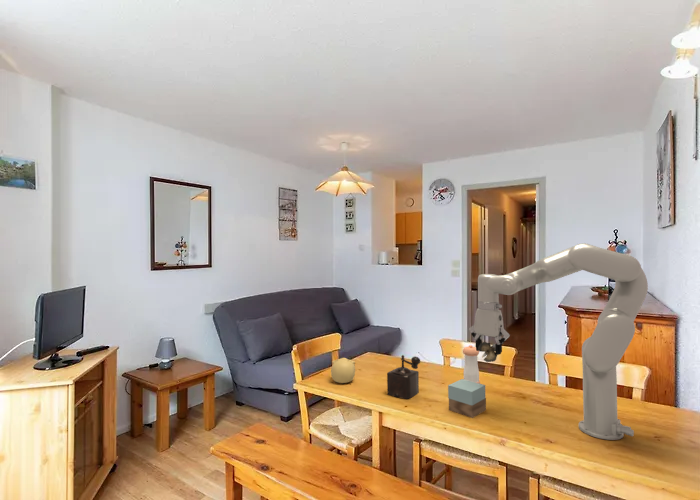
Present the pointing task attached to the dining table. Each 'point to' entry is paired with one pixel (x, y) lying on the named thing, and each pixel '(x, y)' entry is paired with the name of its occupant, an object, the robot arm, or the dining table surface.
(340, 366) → the sculpture
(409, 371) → the manual coffee grinder
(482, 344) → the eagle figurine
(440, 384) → the dining table surface
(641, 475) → the dining table surface
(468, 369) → the pepper shaker
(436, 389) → the dining table surface
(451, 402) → the tower base
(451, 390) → the tower top
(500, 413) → the dining table surface
